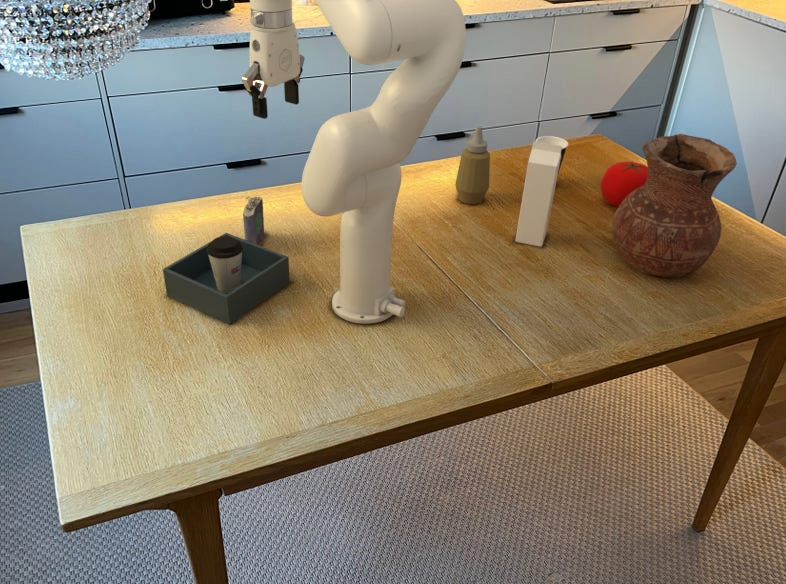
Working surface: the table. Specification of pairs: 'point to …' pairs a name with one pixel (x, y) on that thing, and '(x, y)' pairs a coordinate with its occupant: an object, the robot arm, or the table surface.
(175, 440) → the table surface
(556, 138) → the dixie cup
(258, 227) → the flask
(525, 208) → the milk
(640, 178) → the tomato
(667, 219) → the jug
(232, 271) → the coffee cup
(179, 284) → the tub
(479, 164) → the squeeze bottle
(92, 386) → the table surface
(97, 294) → the table surface
